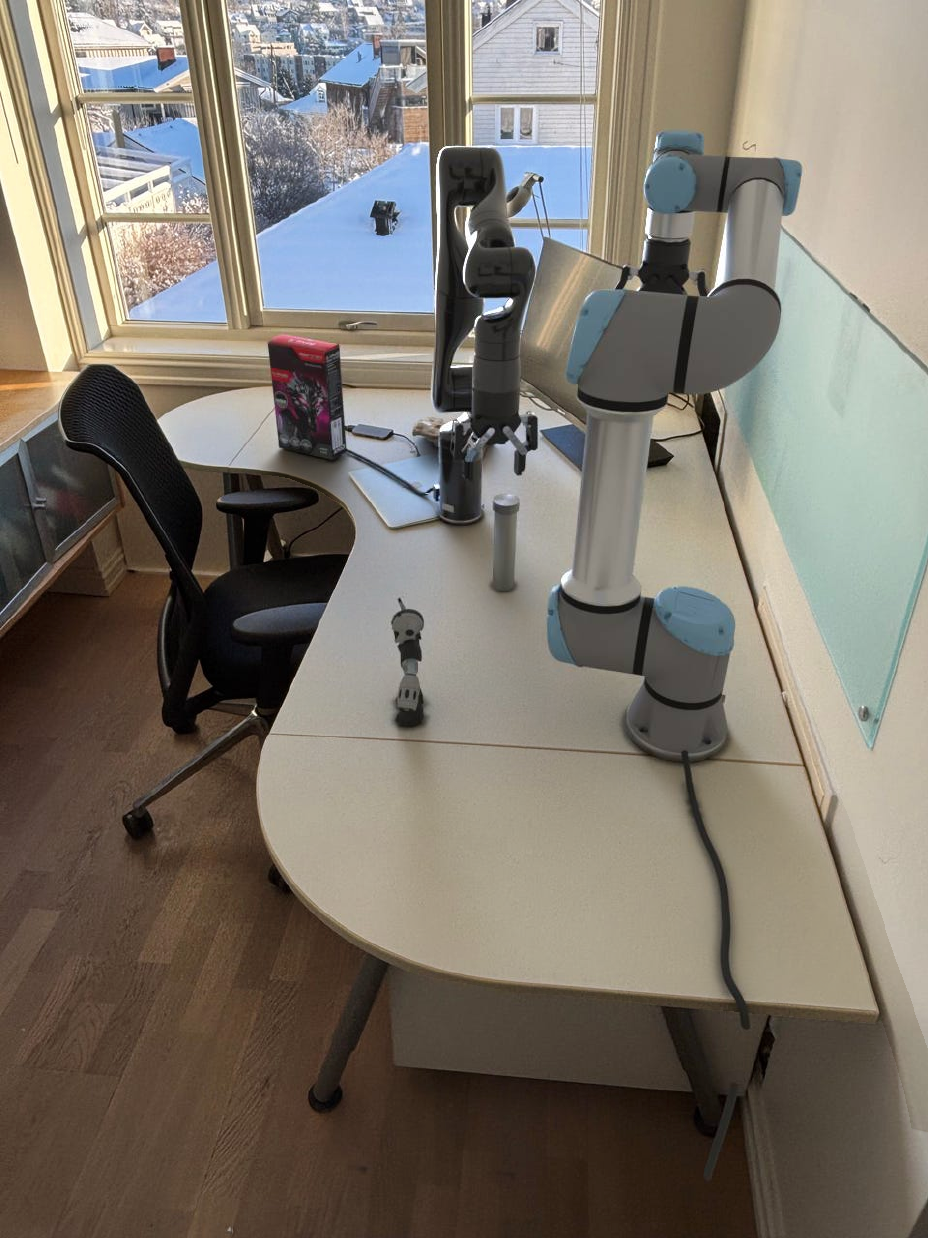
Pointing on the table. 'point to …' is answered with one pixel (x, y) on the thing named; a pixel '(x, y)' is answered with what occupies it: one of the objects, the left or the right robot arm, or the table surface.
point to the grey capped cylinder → (504, 551)
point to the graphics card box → (308, 395)
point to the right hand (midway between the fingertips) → (652, 364)
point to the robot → (409, 665)
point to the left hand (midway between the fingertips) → (493, 476)
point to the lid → (506, 504)
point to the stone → (432, 430)
